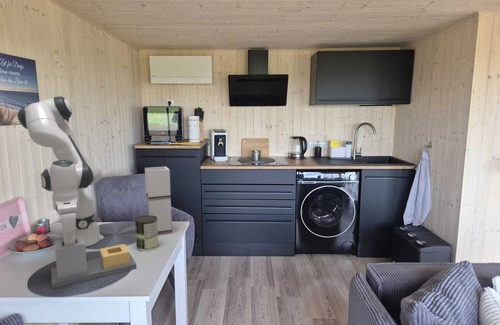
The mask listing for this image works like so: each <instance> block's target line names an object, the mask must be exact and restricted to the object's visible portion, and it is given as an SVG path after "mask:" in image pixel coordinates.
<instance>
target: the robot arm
mask: <svg viewBox="0 0 500 325" xmlns="http://www.w3.org/2000/svg"><path fill="white" fill-rule="evenodd" d="M72 114H73V108H72V105H71V103H70V102H69V100H67V99H66V98H65V97H64V96H62V95H61V96H54V97H51V98H46V99H44V100H40V101H38V102H32V103H30V104H29V105H27V106H24V107H22V108H21V109H19V110H18V112H17V115H16V116H17V120H18V122H19V124H20V125H21V126H22V127H23V128H24V129H26V130H27V132H28V135H29V138H30V139H31V140H32V141H33V143H35V144H36V145H39V146H41V147H44V148H50V149H52V151H53V154H54V157H55V158H56V159H57V160H55V161H52V162H51V164H50V167H48V168H46V169H45V170H43V171H42V172H41V174H40V179H41V188H43V190H45V191H48V192H52V196H51V197H52V208H53V210H55V211H56V213H57V215H59V219H60V222H61V226H62V232H63V231H64V233H65V234H66V235H67V240H72V232H75V237H79V236H83V238H84V241H85V247H89V246H92V245H95V244H97V243H98V242H100V241H102V240H104V239H105V237H104V235H102V234H100V224H99V223H98V222H96V215H95V213H94V200H93V198H92V197H91V196H90V195H88V194H86V192H85V189H87V188H88V187H90V186H92V185H94V184H96V183H98V182H99V181H100V180H102V177H103V172H102V169H101V167H100V166H99V165H97V164H95V163H94V162H92V161H91V160H90V159H88V157H87V156H86V155H85V154H84V152H83V151H82V150H81V148H80V145H79V143H78V141H77V139H76V137H75V135H74V132H73V131H72V128H71V127H70V125H69V124H68V122H69V121H70V118H71V116H72Z"/></svg>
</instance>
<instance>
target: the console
mask: <svg viewBox="0 0 500 325" xmlns="http://www.w3.org/2000/svg"><path fill="white" fill-rule="evenodd" d="M75 242H76V244H70V245H65V246H64V238H63V239H58V240H54V251H55V262H56V267H51V269H50V271H51V272H50V273H51V275H50V276H51V287H52V288H51V289H53V288H54V289H57V288H62V287H65V285H66V286H70V285H73V283H74V284H78V283H83V282H85V281H86V280H87V281H89V280H90V279H91V280H94V279H93V278H95V279H98V278H97V277H99V278H102V277H101V276H103V277H106V276H105V275H107V276H111V275H110V274H112V275H115V274H114V273H116V274H120V273H124V272H127V271H131V270H132V271H133V270H136V269H137V262H136V261H135V260H134V258H133V257H132V255H131V253H130V250H129V249H128V247H127V245H126V244H125V243H123V244H122V243H121V244H117V245H112V246H107V247H102V248H99V258H95V259H90V260H87V251H86V250H87V248H86V247H87V246H86V247H85V241H84V238H83V236H79V237H75ZM119 272H120V273H119ZM91 280H90V281H91ZM69 284H70V285H69ZM61 286H62V287H61Z"/></svg>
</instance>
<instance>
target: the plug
mask: <svg viewBox="0 0 500 325" xmlns="http://www.w3.org/2000/svg"><path fill="white" fill-rule="evenodd" d="M62 235H63V239H64V246H65V245H70V244H76V242H75V232H72V240H67V235H66V234H65V233H64V231H63V230H62Z"/></svg>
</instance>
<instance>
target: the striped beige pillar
mask: <svg viewBox="0 0 500 325" xmlns="http://www.w3.org/2000/svg"><path fill="white" fill-rule="evenodd" d="M144 178H145V183H144V184H145V199H146V201H147V203H148V204H147V205H148V206H147V207H148V215H152V216H156V217H157V231H158V236H162V235H168V234H173V227H172V226H173V224H172V203H171V202H172V200H171V197H172V196H171V195H172V194H171V170H170V168H168V167H167V166H156V167H155V166H153V167H144Z"/></svg>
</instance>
